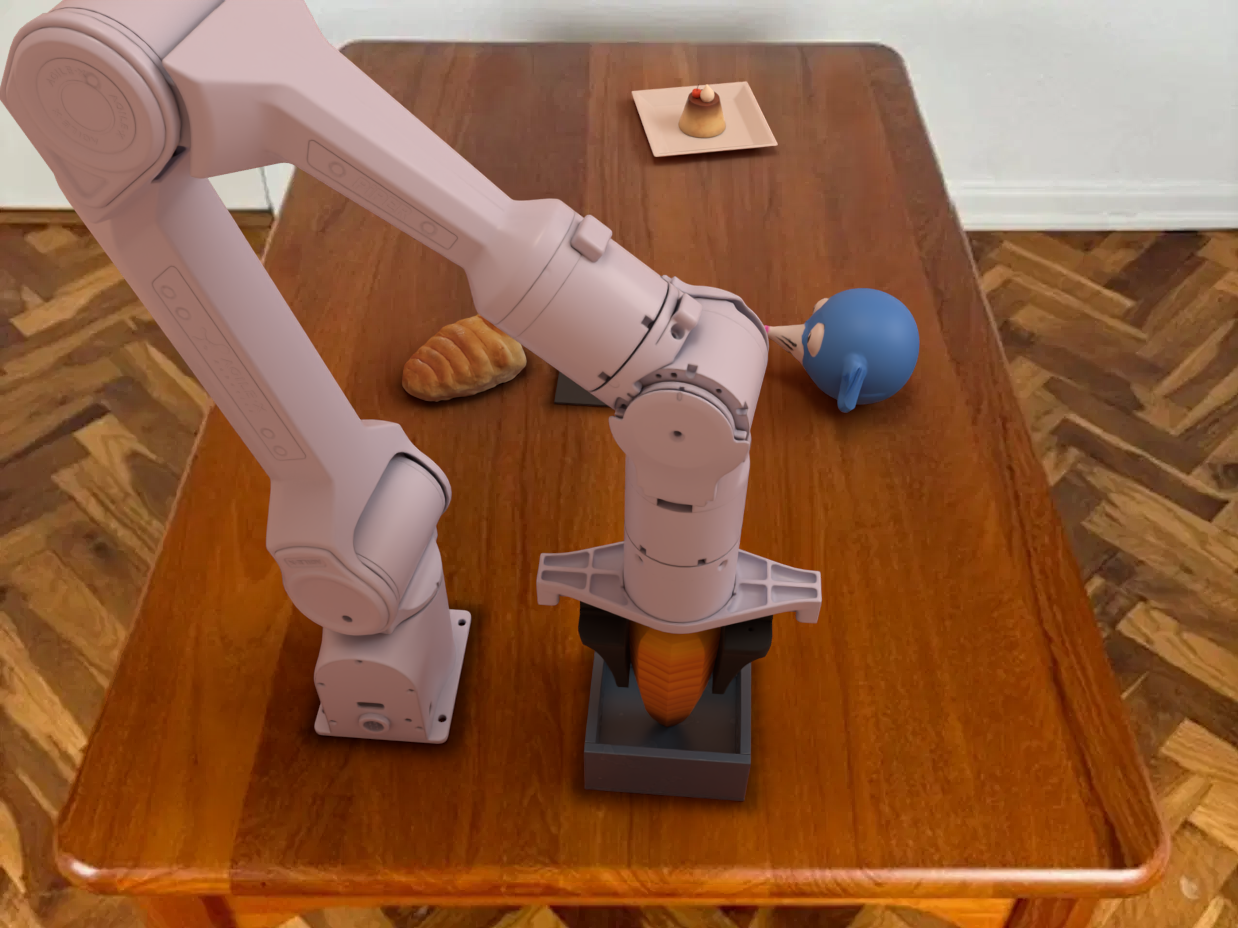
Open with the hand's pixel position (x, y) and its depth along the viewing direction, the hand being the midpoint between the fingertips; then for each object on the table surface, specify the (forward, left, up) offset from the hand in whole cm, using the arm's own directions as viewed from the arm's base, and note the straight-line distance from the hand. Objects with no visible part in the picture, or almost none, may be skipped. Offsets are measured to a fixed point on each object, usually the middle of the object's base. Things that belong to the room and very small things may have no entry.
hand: (671, 675), depth 68 cm
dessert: (+67, 0, -6) cm, 67 cm away
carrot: (0, 0, -5) cm, 5 cm away
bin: (0, 0, -5) cm, 5 cm away
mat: (+33, +5, -5) cm, 34 cm away
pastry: (+30, +17, -6) cm, 35 cm away
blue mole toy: (+31, -11, -6) cm, 33 cm away
